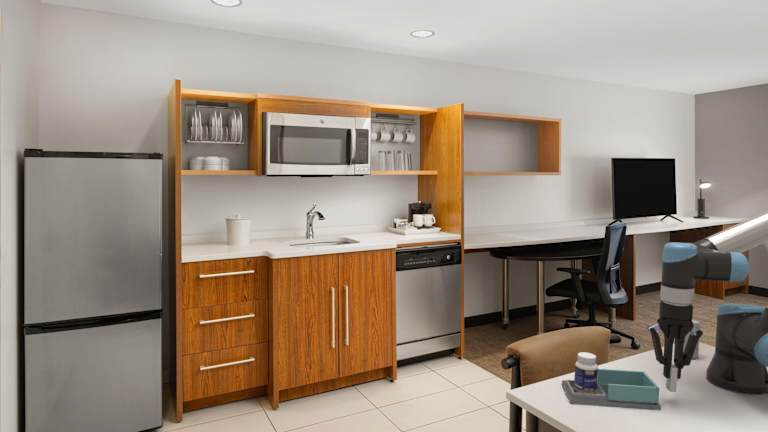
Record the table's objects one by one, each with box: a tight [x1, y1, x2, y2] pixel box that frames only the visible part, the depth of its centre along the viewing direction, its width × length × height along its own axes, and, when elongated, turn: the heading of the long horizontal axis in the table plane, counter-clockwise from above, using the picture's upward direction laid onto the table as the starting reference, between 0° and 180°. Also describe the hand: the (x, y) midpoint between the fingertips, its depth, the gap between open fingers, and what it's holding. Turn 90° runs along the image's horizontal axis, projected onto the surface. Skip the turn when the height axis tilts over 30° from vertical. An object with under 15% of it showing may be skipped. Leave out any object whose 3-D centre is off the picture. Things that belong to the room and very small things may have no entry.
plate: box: [561, 379, 662, 411], centre depth 135 cm, size 22×12×2 cm, turn 81°
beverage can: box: [683, 319, 701, 360], centre depth 164 cm, size 5×5×12 cm
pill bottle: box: [573, 351, 599, 394], centre depth 136 cm, size 6×6×10 cm
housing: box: [597, 368, 660, 404], centre depth 134 cm, size 12×11×4 cm
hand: (671, 389), depth 132 cm, fingers closed
